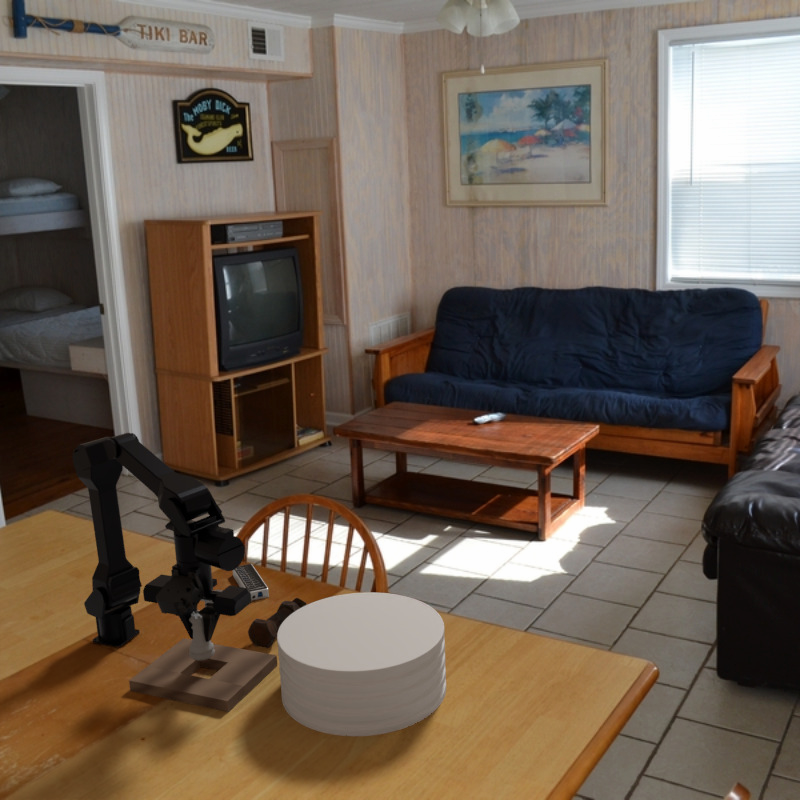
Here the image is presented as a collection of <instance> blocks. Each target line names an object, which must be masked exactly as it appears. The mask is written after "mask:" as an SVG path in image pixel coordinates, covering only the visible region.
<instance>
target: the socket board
mask: <svg viewBox="0 0 800 800" xmlns="http://www.w3.org/2000/svg"><path fill="white" fill-rule="evenodd" d="M192 640H193V639H191V638H190V639H189V638H185V637H184V638H182V639H181V640H179V641H178V642H177V643H175V644H174V645H172V646H171V647H170V648H169V649H168V650H166V651H165V652H164V653H163V654H161V655H160V656H159V657H157V658H155V660H153V661H152V662H151V663H149V664H148V665H146V667H144V668H143V669H142V670H140V671H139V672H138V673H136V674H135V675H134V676H133V677H131V678H130V679H129V680H128V682H129V683H128V684H129V691H130V692H134V693H139V694H144V695H147V696H148V695H149V696H153V697H157V698H162V699H166V700H171V701H176V702H180V703H185V704H190V705H194V706H199V707H204V708H208V709H212V710H218V711H221V712H227V713H229V712H231V710H232V709H234V708H235V707H236V705H238V704H239V703H240V702H241V701H242V700H244V698H245V697H246V696H247V695H248V694H249V693H251V691H252V690H253V689H255V688H256V686H257V685H258V684H260V683H261V682H262V681H263V680H264V679H265V678H266V677H267V676H268V675H269V674H271V672H272V671H273V670H274V669H276V668H277V666H278V658H277V656H278V655H276V654H271V653H265V652H259V651H255V650H250V649H243V648H239V647H234V646H229V645H228V646H227V645H224V644H223V645H222V644H217V643H213V645H214V648H213V649H215V653H214V654H213V656H212V657H211V658H209V659H206V660H202V661H197V660H194V659H192V658H191V657H190V655H189V653H190V651H189V647H190V646H191V643H192ZM200 668H206V669H210V670H215V671H217V672H215V673H214V674H212V675H211V676H210V678H206V677H201V676H197V675H196V676H195V675H193V674H194V673H196V672H197V671H198V670H199V669H200Z"/></svg>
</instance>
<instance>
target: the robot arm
mask: <svg viewBox="0 0 800 800" xmlns="http://www.w3.org/2000/svg"><path fill="white" fill-rule="evenodd" d="M72 464H73V466H74V468H75V472H76V476H77V478H78V480H80V482H82V484H84V486H85V487H86V488H87V490H88V495H89V496H88V497H89V503H90V511H91V517H92V525H93V531H94V538H95V545H96V551H97V559H98V560H97V561H98V562H97V563H98V564H97V565H96V567H95V570H94V573H93V575H92V577H91V583H92V585H91V586H92V591H91V592H90V594H89V595H88V597H87V598H86V600H85V601H84V603H83V604H84V608H85V610H86V611H85V612H86V613H87V615H90V616H93V617H94V618H95V624H96V630H97V636H95V637H94V638H93V639H92V643H93V644H94V643H95V644H99V645H105V646H109V647H115V648H121V647H122V646H123V645H125V644H126V643H128V642H129V641H131V640H132V639H134V637H136V636H137V635H139V634H140V630H139V629H136V626H135V616H134V615H133V612H132V607H131V606H134V605H137V604H138V603H139V598H140V594H141V587H142V586H143V585H142V582H141V579H140V569H139V568H138V567H137V566H134V565H133V564H132V562H131V561H129V560H128V559H127V554H126V548H125V539H124V533H123V527H122V526H123V525H122V518H121V512H120V504H119V497H118V488H117V484H118V483H119V479H120V477H121V476H122V473H123V471H124V468H125V469H126V470H127V471H128V472H129V473H130V474H132V475H133V476H134V477H135V478H136V479H137V480H139V482H141V483H142V485H144V486H145V487H147V489H148V490H149V491H150V492H152V493H153V494H154V495H155V496H156V498H157V502H158V508H159V509H160V510H161V512H162V513H163V514H164V515H165V516H166V517H167V518H168V520H169V521H168V522H167V523H166V524H165V525H164V526H165V529H166V530H169V531H172V532H173V540H174V551H175V564H173V565H172V566H171V568H172V569H171V571H170V572H171V575H168V574H160V575H158V576H157V577H156V578H153V579H152V580H151V581H149V582H148V583H147V584H146V583H145V585H144V587H143V590H142V593H143V600H144V602H148V603H154V604H157V605H158V607H159V609H160V611H161V613H162V614H164V615H165V614H169V615H174V616H176V617H178V618H179V619H180V621H181V622H182V624H183V626H184V628H185V630H186V633H187V634H188V636H189V638H190V639H191V640H193V629H192V628H191V627H192V623H191V622H190V621H189V619H190V617H191V614H192V612H195V613H196V611H197V610H198V605H199V603H201V602H204V607H203V608H202V609H200V610H199V612H198V613H199V614H200V615H201V616H202V617H203V625H204V635H205V640H206V642H209V641H210V640H212V638H213V636H214V632H215V630H216V627H217V624H218V621H219V619H220V616H221V615H222V616H228V617H234V616H237V615H238V614H239V613H241V612H242V611H243V610H244V609H246V608H247V607H248V606H249V605H251V603H252V601H251V593H250V591H249V590H248V589H247V588H243V587H240V586H236V585H228V586H227V587H226V588H224V589H214V588H215V587H216V586H217V585H218V581H217V580H218V579H217V578H213V573H212V567H214V568H217V569H220V570H223V571H225V572H231V571H232V572H233V570H234V569H236V568H237V567H238V566H241V564H242V562H243V561H244V558H245V554H246V546H245V544H244V543H243V542H244V541H242V539H241V538H240V537H237V536H235V531H234V529H231V528H228V527H221V526H220V525H221V524H224V523H225V522H226V519H225V517H224V515H223V513H222V512H223V511H222V510H221V508H220V506H219V505H218V504H217V502H216V500H215V498H214V497H213V495H212V492H211V491H210V490H209V487H207V486H206V484H205V483H202V482H201V481H199V480H198V479H197V478H194V477H192V476H189V475H184V474H179V473H177V472H175V471H174V470H173V469H172V468H171V467H169V466H168V465H167V464H166V463H165V462H164V461H162V459H160V458H159V457H158V456H157V455H155V453H153V452H152V451H151V450H150V449H148V447H147V446H145V445H144V444H143V443H141V442H140V441H139V438H138V436H137V435H136V434H135V433H133V432H124V433H122V434H117V435H115V436H105V437H102V438H98V439H95V440H91V441H88V442H84V443H80V444H78V445H77V446H76V447H75V450H73V451H72ZM205 515H209V516H206V517H204V518H200V517H202V516H205ZM197 518H200V519H198V520H195V519H197Z"/></svg>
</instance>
